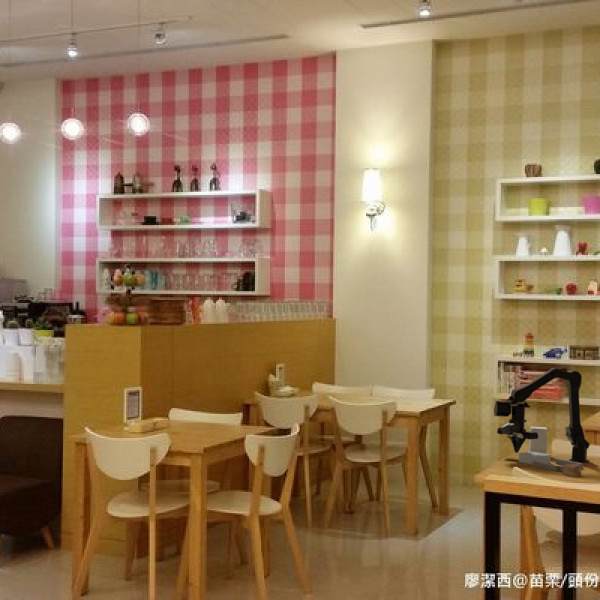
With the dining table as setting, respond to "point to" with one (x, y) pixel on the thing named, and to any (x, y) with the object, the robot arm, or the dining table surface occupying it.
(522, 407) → the robot arm
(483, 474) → the dining table surface
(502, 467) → the dining table surface
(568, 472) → the walnut block
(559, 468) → the display bay
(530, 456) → the carton
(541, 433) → the supplement box
